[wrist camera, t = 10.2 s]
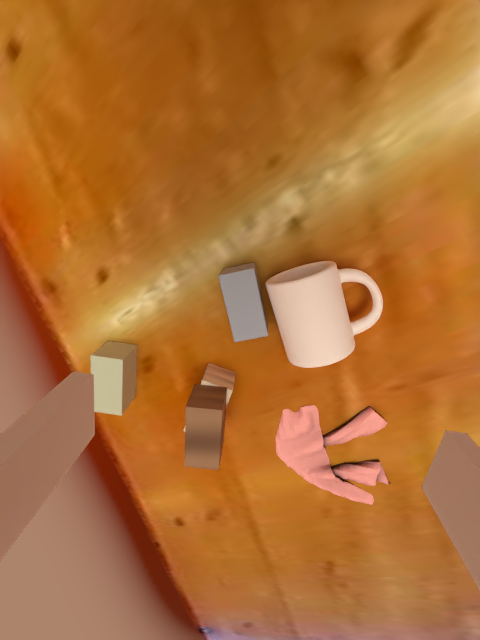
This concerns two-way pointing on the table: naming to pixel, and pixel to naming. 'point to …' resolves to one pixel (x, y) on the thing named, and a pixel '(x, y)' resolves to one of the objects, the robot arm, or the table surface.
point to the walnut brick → (205, 426)
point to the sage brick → (114, 377)
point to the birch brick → (219, 378)
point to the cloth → (312, 460)
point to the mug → (318, 312)
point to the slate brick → (244, 302)
